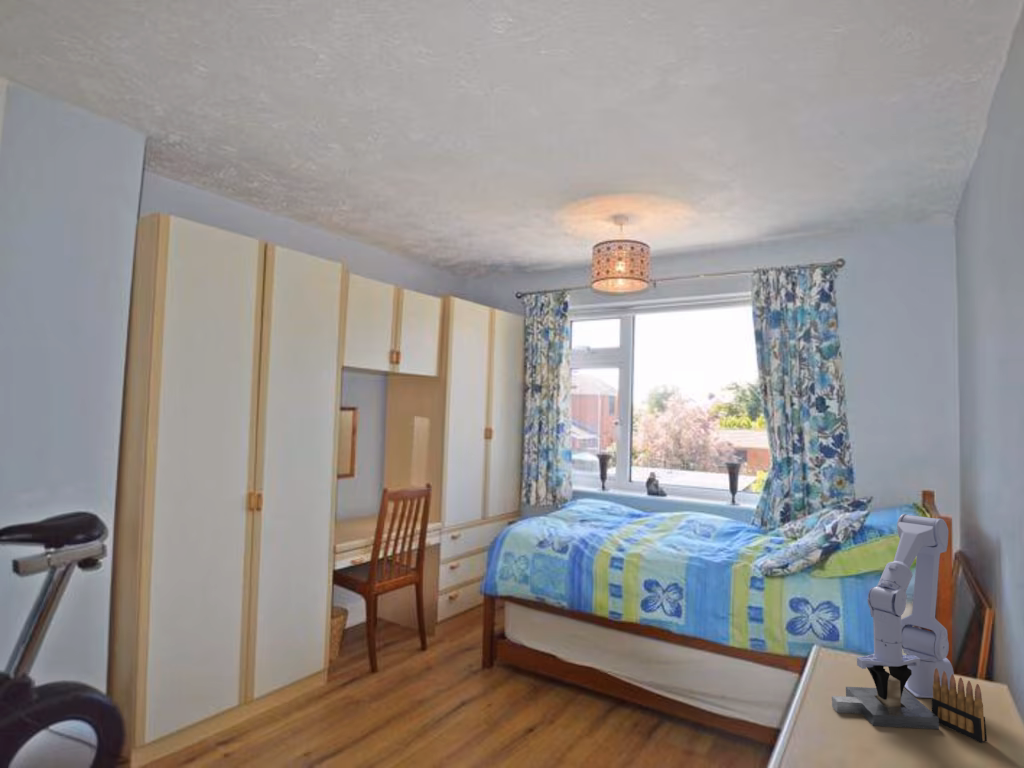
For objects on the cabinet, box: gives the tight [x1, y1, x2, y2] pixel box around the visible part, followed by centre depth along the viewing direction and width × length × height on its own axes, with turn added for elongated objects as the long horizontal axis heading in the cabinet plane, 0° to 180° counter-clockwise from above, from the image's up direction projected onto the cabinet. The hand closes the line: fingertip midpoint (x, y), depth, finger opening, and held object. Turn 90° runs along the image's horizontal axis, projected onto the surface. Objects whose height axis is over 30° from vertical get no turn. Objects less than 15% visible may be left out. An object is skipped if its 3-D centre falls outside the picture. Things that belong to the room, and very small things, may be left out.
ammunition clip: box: [931, 668, 988, 744], centre depth 135 cm, size 11×2×12 cm, turn 22°
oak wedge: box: [877, 675, 901, 707], centre depth 143 cm, size 3×4×7 cm
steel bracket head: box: [831, 686, 940, 730], centre depth 143 cm, size 20×14×2 cm
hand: (889, 697), depth 143 cm, fingers closed on oak wedge, 3 cm apart
